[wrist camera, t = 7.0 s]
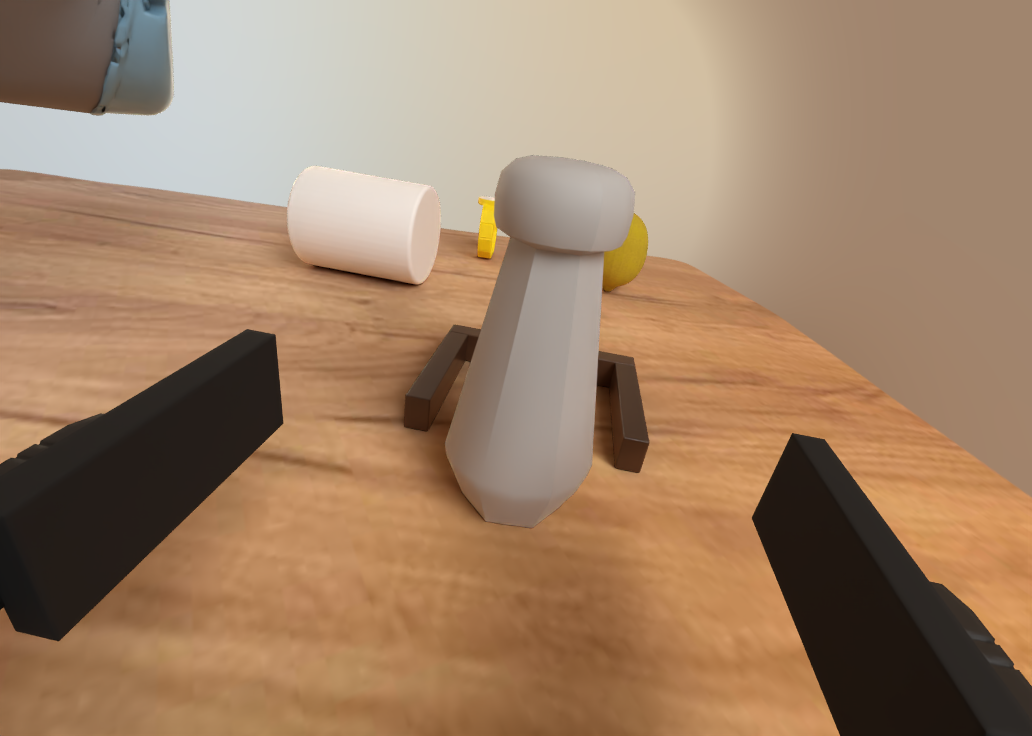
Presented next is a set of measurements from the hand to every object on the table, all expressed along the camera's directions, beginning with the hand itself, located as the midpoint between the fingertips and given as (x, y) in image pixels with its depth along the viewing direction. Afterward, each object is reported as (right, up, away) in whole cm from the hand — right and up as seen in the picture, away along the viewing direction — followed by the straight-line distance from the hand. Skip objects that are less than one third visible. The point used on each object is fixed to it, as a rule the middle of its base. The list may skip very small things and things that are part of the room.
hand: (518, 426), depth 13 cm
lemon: (+9, +9, +35) cm, 38 cm away
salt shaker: (0, -4, +8) cm, 9 cm away
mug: (-13, +10, +32) cm, 36 cm away
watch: (-3, +13, +41) cm, 43 cm away
